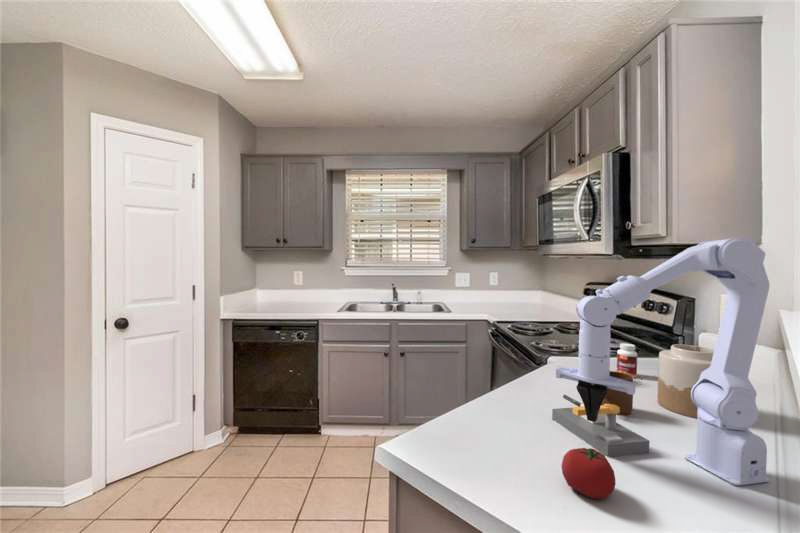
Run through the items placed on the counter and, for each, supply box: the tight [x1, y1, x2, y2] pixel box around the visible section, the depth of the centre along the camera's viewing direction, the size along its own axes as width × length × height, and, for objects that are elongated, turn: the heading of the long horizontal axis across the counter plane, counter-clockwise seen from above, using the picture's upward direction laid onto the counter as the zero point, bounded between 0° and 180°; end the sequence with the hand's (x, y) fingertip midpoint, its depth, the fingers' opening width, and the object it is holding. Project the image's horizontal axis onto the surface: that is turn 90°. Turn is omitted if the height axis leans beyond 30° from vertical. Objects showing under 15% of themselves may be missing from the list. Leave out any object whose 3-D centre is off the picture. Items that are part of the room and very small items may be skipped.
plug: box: [562, 394, 606, 423], centre depth 89 cm, size 12×4×3 cm, turn 12°
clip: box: [572, 404, 620, 416], centre depth 79 cm, size 10×3×1 cm, turn 102°
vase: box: [657, 343, 714, 419], centre depth 99 cm, size 15×15×17 cm
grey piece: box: [551, 407, 650, 458], centre depth 82 cm, size 18×10×6 cm, turn 12°
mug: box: [601, 370, 634, 416], centre depth 96 cm, size 12×8×9 cm, turn 120°
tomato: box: [561, 447, 617, 500], centre depth 61 cm, size 8×8×7 cm
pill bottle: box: [615, 342, 638, 378], centre depth 129 cm, size 6×6×11 cm
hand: (592, 419), depth 75 cm, fingers closed
